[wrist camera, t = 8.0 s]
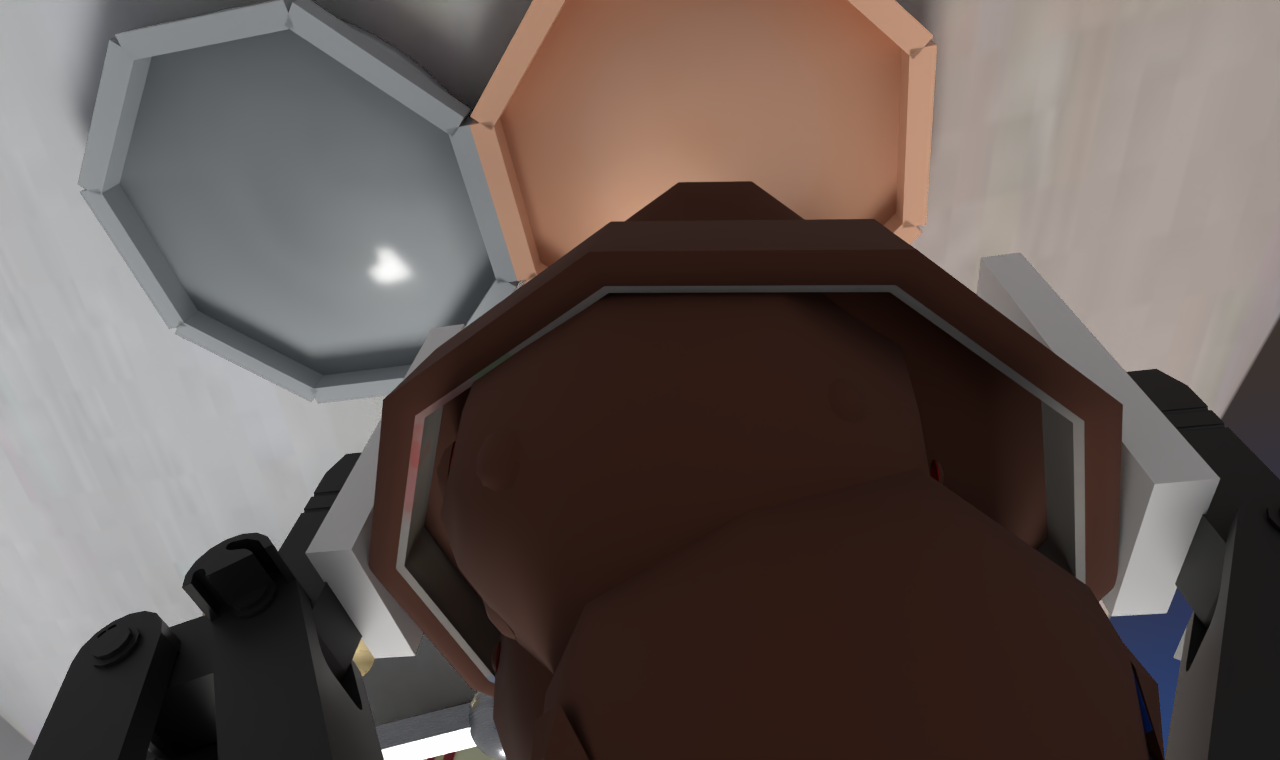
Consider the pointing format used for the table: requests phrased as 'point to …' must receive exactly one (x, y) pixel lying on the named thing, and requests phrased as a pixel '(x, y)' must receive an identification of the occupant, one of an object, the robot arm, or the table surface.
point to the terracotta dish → (704, 113)
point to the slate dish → (293, 195)
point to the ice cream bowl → (763, 505)
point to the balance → (437, 726)
